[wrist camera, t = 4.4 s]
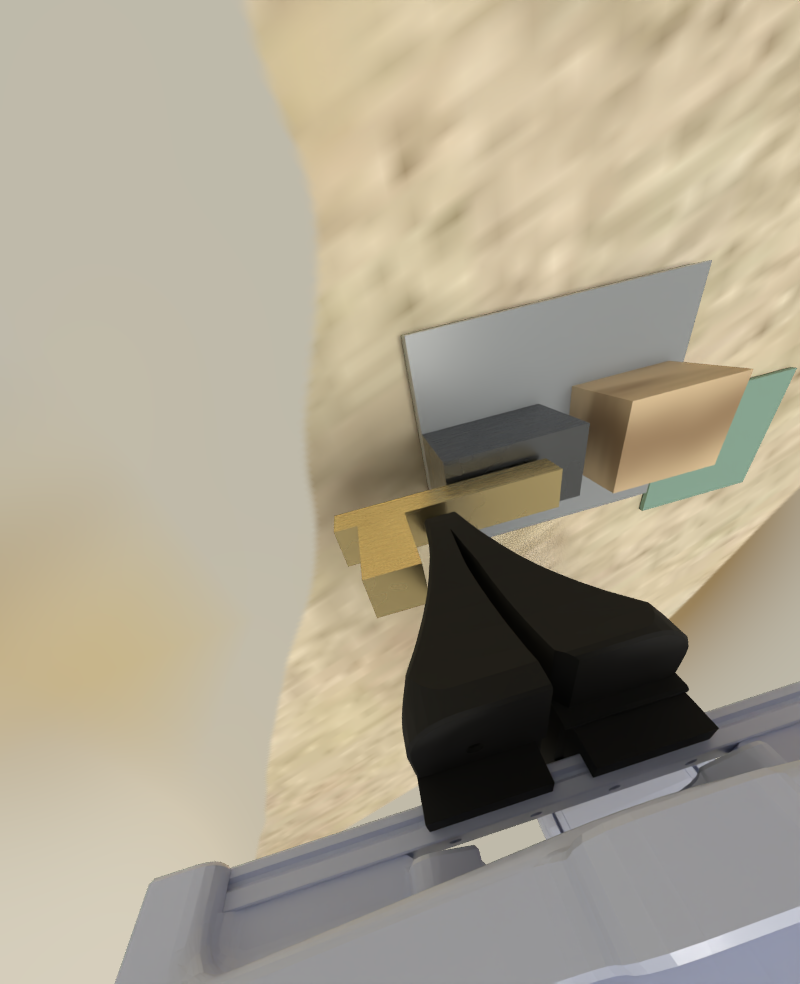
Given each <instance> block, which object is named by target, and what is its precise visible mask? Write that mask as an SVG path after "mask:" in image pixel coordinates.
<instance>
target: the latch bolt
mask: <svg viewBox="0 0 800 984" xmlns="http://www.w3.org/2000/svg"><path fill="white" fill-rule="evenodd" d="M562 471H563V469H562V468H560V467H559V466H557V465H556V464H554V463H553V462H551V461H549V460H548V459H546V458H544V459H541V460H537V461H533V462H530V463H526V464H522V465H519V466H515V467H511V468H508V469H504V470H500V471H497V472H493V473H490V474H486V475H482V476H479V477H475V478H471V479H468V480H464V481H460V482H457V483H453V484H449V485H446V486H442V487H438V488H435V489H431V490H428V491H424V492H420V493H417V494H413V495H409V496H406V497H402V498H398V499H395V500H391V501H387V502H384V503H380V504H376V505H373V506H369V507H365V508H362V509H358V510H355V511H351V512H347V513H344V514H340V515H336V516H334V534H335V536H336V538H337V541H338V543H339V546H340V548H341V550H342V553H343V555H344V558H345V560H346V562H347V565H348V567H349V566H352V565H356V564H359V563H361V572H362V581H363V584H364V586H365V589H366V591H367V594H368V596H369V599H370V601H371V604H372V606H373V609H374V611H375V614H376V616H377V618H379V617H383V616H386V615H390V614H393V613H396V612H400V611H403V610H407V609H410V608H413V607H417V606H420V605H424V604H425V602H426V597H427V589H428V588H427V584H426V579H425V575H424V571H423V566H422V562H421V559H420V557H419V554H418V551H417V548H416V547H419V546H423V545H426V544H429V543H428V538H427V534H426V529H425V524H424V522H425V520H426V519H429V518H432V517H436V516H440V515H443V514H447V513H450V512H454V511H455V512H456V513H458V514H459V515H460V516H462V517H463V518H464V519H465V520H467V521H468V522H469V523H471V524H472V525H473V526H475V527H476V528H477V529H483V528H486V527H490V526H493V525H497V524H500V523H504V522H507V521H511V520H514V519H518V518H521V517H525V516H529V515H532V514H536V513H539V512H543V511H546V510H550V509H553V508H557V507H559V501H560V491H561V481H562Z"/></svg>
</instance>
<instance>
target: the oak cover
mask: <svg viewBox="0 0 800 984" xmlns="http://www.w3.org/2000/svg"><path fill="white" fill-rule="evenodd" d="M752 371H753V369H749V368H738V367H728V366H718V365H708V364H698V363H687V362H677V361H666V362H662V363H658V364H654V365H651V366H647V367H643V368H639V369H635V370H632V371H628V372H624V373H620V374H616V375H613V376H609V377H605V378H601V379H597V380H594V381H590V382H586V383H582V384H578V385H574V386H572V392H571V402H570V411H569V415H570V416H573V417H575V418H578V419H581V420H583V421H586V422H589V423H590V427H589V434H588V441H587V448H586V455H585V462H584V469H583V475H584V476H585V477H587V478H589V479H590V480H592V481H593V482H595V483H597V484H598V485H600V486H602V487H603V488H605V489H607V490H608V491H610V492H612V493H617V492H620V491H624V490H627V489H631V488H634V487H638V486H641V485H645V484H649V483H652V482H656V481H659V480H663V479H666V478H670V477H673V476H677V475H680V474H684V473H687V472H691V471H694V470H698V469H701V468H705V467H708V466H712V465H715V463H716V460H717V458H718V455H719V453H720V450H721V448H722V445H723V443H724V440H725V438H726V435H727V433H728V430H729V428H730V426H731V423H732V421H733V418H734V416H735V413H736V411H737V408H738V406H739V403H740V401H741V398H742V396H743V393H744V391H745V389H746V386H747V384H748V381H749V379H750V376H751V374H752Z"/></svg>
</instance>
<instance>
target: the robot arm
mask: <svg viewBox="0 0 800 984" xmlns="http://www.w3.org/2000/svg"><path fill="white" fill-rule="evenodd" d="M424 524H425V529H426V534H427V538H428V543H429V549H430V565H429V581H428V589H427V597H426V602H425V608H424V613H423V618H422V622H421V626H420V630H419V634H418V638H417V642H416V645H415V648H414V652H413V655H412V658H411V661H410V664H409V667H408V670H407V673H406V679H405V687H404V696H403V707H402V729H403V736H404V742H405V748H406V754H407V758H408V760H409V762H410V764H411V766H412V768H413V770H414V772H415V774H416V775H417V779H418V785H419V791H420V796H421V802H422V805H421V806H418V807H415V808H412V809H409V810H406V811H403V812H400V813H397V814H394V815H390V816H388V817H385V818H381V819H378V820H375V821H372V822H369V823H366V824H363V825H360V826H357V827H354V828H351V829H348V830H345V831H342V832H339V833H336V834H333V835H329V836H326V837H323V838H320V839H317V840H314V841H311V842H308V843H305V844H302V845H299V846H296V847H293V848H290V849H287V850H284V851H281V852H278V853H275V854H272V855H268V856H265V857H262V858H259V859H256V860H253V861H250V862H247V863H244V864H241V865H238V866H235V867H232V868H229V866H228V865H226V864H224V863H222V862H206V863H202V864H198V865H195V866H192V867H189V868H186V869H183V870H179V871H176V872H173V873H170V874H168V875H164V876H161V877H158V878H155V879H154V880H153V881H152V882H151V883H150V884H149V886H148V889H147V892H146V894H145V897H144V901H143V903H142V906H141V909H140V912H139V915H138V918H137V921H136V924H135V926H134V929H133V932H132V935H131V938H130V941H129V944H128V947H127V950H126V952H125V955H124V958H123V961H122V964H121V967H120V970H119V973H118V975H117V979H116V981H115V984H800V682H796V683H793V684H790V685H787V686H784V687H781V688H778V689H775V690H772V691H769V692H766V693H763V694H760V695H757V696H754V697H750V698H748V699H744V700H742V701H738V702H735V703H732V704H729V705H727V706H723V707H720V708H717V709H714V710H711V711H708V712H705V713H704V712H703V711H702V710H701V708H700V707H699V706H698V705H697V704H696V703H695V702H694V701H693V700H692V699H691V698H690V697H689V696H688V695H687V694H686V693H685V692H687V691H688V690H689V688H688V686H687V684H685V682H684V681H682V679H681V678H680V677H679V676H678V675H677V674H676V673H675V672H676V670H677V669H678V667H679V665H680V663H681V662H682V660H683V658H684V656H685V654H686V652H687V649H688V638H687V636H686V635H685V634H684V633H683V632H681V630H679V629H678V628H677V627H676V626H675V625H674V624H673V623H672V622H671V621H670V620H669V619H668V618H667V617H665V616H664V615H663V614H662V613H661V612H659V611H658V610H657V609H656V608H655V607H653V606H652V605H651V604H649V603H648V602H644V601H641V600H637V599H634V598H630V597H626V596H623V595H619V594H616V593H612V592H608V591H605V590H602V589H599V588H596V587H593V586H590V585H587V584H584V583H581V582H579V581H576V580H573V579H571V578H568V577H566V576H563V575H561V574H558V573H556V572H553V571H551V570H548V569H546V568H544V567H542V566H540V565H537V564H535V563H533V562H531V561H529V560H527V559H525V558H523V557H522V556H520V555H518V554H516V553H514V552H513V551H511V550H509V549H508V548H506V547H504V546H503V545H501V544H499V543H498V542H496V541H495V540H493V539H492V538H490V537H489V536H487V535H486V534H484V533H483V532H481V531H480V530H479V529H477V528H476V527H475V526H473V525H472V524H471V523H469V522H468V521H467V520H465V519H464V518H463V517H462V516H460V515H459V514H458V513H456V512H455V511H454V512H450V513H447V514H443V515H440V516H436V517H432V518H429V519H426V520H425V522H424ZM718 757H719V758H718ZM715 758H717V759H715ZM534 819H537V820H538V822H539V824H540V827H541V829H542V831H543V834H544V836H545V838H546V840H544V841H542V842H539V843H537V844H535V845H532V846H530V847H528V848H525V849H523V850H520V851H518V852H515V853H513V854H510V855H508V856H506V857H503V858H501V859H498V860H496V861H494V862H491V863H489V864H487V865H486V864H485V863H484V862H483V861H482V860H481V856H480V852H479V849H478V848H477V847H476V846H475V845H471V846H465V847H460V848H454V849H448V850H445V849H447V848H450V847H453V846H456V845H460V844H463V843H465V842H468V841H471V840H474V839H477V838H480V837H483V836H486V835H489V834H492V833H495V832H498V831H501V830H504V829H507V828H510V827H513V826H516V825H519V824H522V823H525V822H528V821H531V820H534ZM442 850H443V851H442Z"/></svg>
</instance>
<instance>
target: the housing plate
mask: <svg viewBox="0 0 800 984" xmlns="http://www.w3.org/2000/svg"><path fill="white" fill-rule="evenodd" d="M711 262H712V260H709V261H704V262H698V263H693V264H689V265H685V266H680V267H676V268H672V269H668V270H664V271H660V272H656V273H652V274H648V275H644V276H640V277H636V278H632V279H628V280H624V281H620V282H616V283H611V284H607V285H603V286H599V287H595V288H591V289H587V290H583V291H579V292H575V293H571V294H567V295H563V296H559V297H555V298H551V299H547V300H542V301H538V302H534V303H530V304H526V305H522V306H518V307H514V308H510V309H506V310H502V311H498V312H494V313H490V314H486V315H482V316H477V317H473V318H469V319H465V320H461V321H457V322H453V323H449V324H445V325H441V326H437V327H433V328H429V329H425V330H421V331H417V332H413V333H408V334H404V335H401V339H402V345H403V350H404V356H405V361H406V367H407V372H408V378H409V383H410V389H411V394H412V400H413V406H414V411H415V417H416V422H417V428H418V433H419V439H420V444H421V450H422V455H423V461H424V466H425V472H426V478H427V483H428V489H429V490H431V489H435V488H438V487H442V486H446V485H449V484H453V483H457V482H460V481H464V480H468V479H471V478H475V477H479V476H482V475H486V474H490V473H493V472H497V471H500V470H504V469H508V468H511V467H515V466H519V465H522V464H526V463H530V462H533V461H537V460H541V459H544V458H546V459H548V460H549V461H551V462H553V463H554V464H556V465H557V466H559V467H560V468H562V469H563V471H562V481H561V491H560V501H559V507H557V508H553V509H550V510H546V511H543V512H539V513H536V514H532V515H529V516H525V517H521V518H518V519H514V520H511V521H507V522H504V523H500V524H497V525H493V526H490V527H486V528H483V529H479V530H480V531H481V532H483V533H484V534H486V535H487V536H489V537H493V536H496V535H500V534H503V533H507V532H510V531H514V530H517V529H521V528H524V527H528V526H531V525H535V524H538V523H542V522H545V521H549V520H552V519H556V518H559V517H563V516H566V515H570V514H573V513H577V512H580V511H584V510H587V509H591V508H594V507H598V506H601V505H605V504H608V503H612V502H615V501H619V500H622V499H626V498H629V497H633V496H636V495H640V494H643V493H646V492H647V488H648V485H649V484H645V485H641V486H638V487H634V488H631V489H627V490H624V491H620V492H617V493H612V492H610V491H608V490H607V489H605V488H603V487H602V486H600V485H598V484H597V483H595V482H593V481H592V480H590V479H589V478H587V477H585V476H584V475H583V469H584V462H585V455H586V448H587V441H588V434H589V427H590V423H589V422H586V421H583V420H581V419H578V418H575V417H573V416H570V415H569V411H570V402H571V392H572V386H574V385H578V384H582V383H586V382H590V381H594V380H597V379H601V378H605V377H609V376H613V375H616V374H620V373H624V372H628V371H632V370H635V369H639V368H643V367H647V366H651V365H654V364H658V363H662V362H666V361H677V362H683V361H684V357H685V354H686V350H687V347H688V343H689V340H690V336H691V333H692V329H693V326H694V322H695V319H696V315H697V311H698V308H699V304H700V301H701V297H702V294H703V290H704V287H705V283H706V280H707V276H708V273H709V269H710V266H711Z"/></svg>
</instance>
